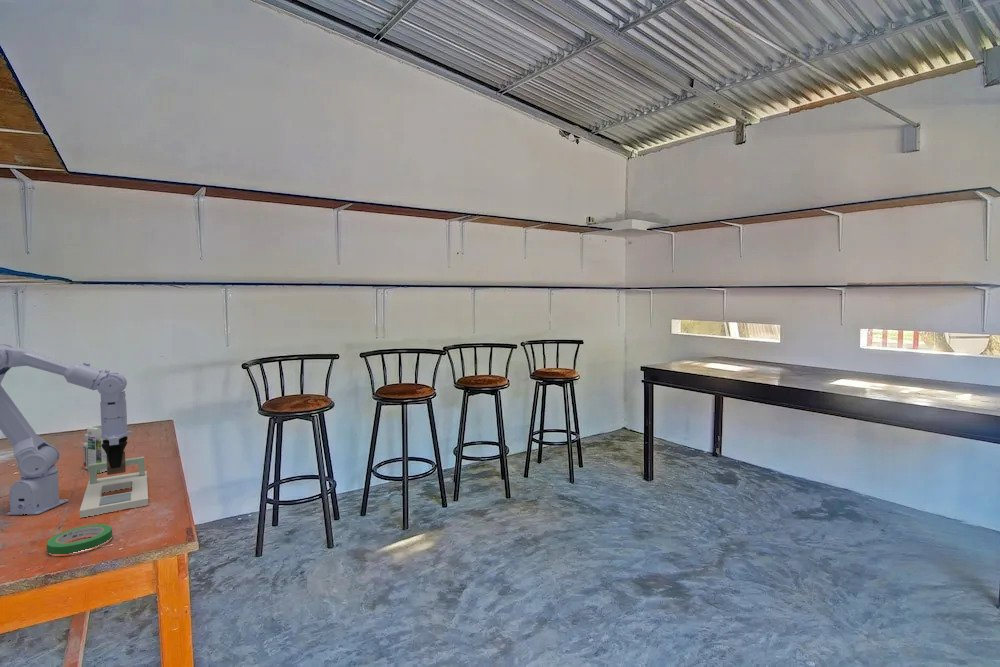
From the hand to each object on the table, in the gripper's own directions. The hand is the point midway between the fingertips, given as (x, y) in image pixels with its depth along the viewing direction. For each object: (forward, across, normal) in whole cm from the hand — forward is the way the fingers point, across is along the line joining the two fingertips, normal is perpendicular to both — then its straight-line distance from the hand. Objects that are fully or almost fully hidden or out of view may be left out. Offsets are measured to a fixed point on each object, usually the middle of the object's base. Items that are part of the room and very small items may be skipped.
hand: (115, 465), depth 142 cm
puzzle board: (+9, +1, 0) cm, 9 cm away
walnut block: (+2, 0, 0) cm, 2 cm away
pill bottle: (+9, +40, +7) cm, 41 cm away
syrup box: (+9, +34, +4) cm, 35 cm away
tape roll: (+9, -33, +6) cm, 35 cm away
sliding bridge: (+6, +11, 0) cm, 13 cm away
